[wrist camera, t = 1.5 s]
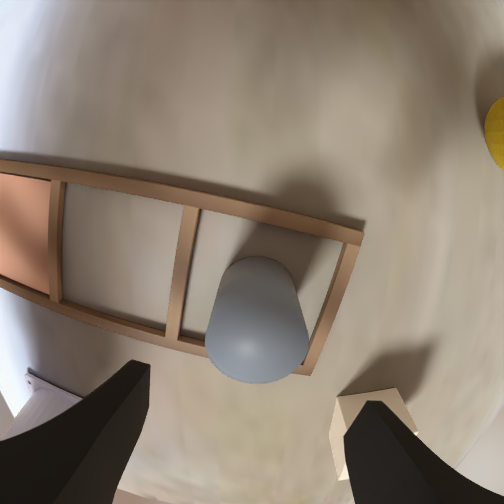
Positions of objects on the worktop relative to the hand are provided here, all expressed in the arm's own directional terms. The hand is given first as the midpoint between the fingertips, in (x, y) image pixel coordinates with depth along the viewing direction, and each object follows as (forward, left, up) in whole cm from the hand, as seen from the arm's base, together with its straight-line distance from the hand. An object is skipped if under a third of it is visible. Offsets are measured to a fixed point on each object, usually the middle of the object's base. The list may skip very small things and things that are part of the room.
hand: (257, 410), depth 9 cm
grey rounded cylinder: (0, 0, -9) cm, 9 cm away
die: (-9, -11, -9) cm, 17 cm away
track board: (0, +9, -9) cm, 13 cm away
